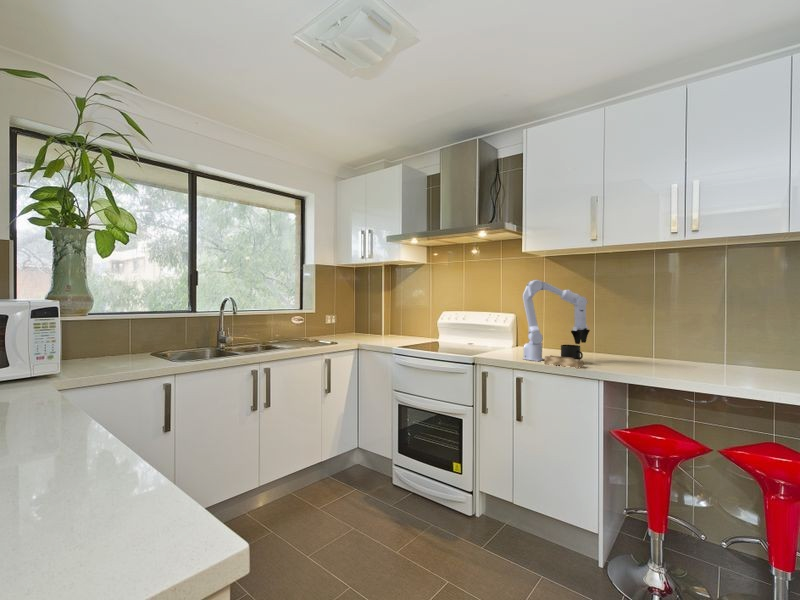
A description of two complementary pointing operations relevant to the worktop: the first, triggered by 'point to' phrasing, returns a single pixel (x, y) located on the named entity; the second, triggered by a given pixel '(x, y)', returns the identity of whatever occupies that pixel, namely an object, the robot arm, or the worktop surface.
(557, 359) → the brown lumpy block
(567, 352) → the mug
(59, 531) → the worktop surface
